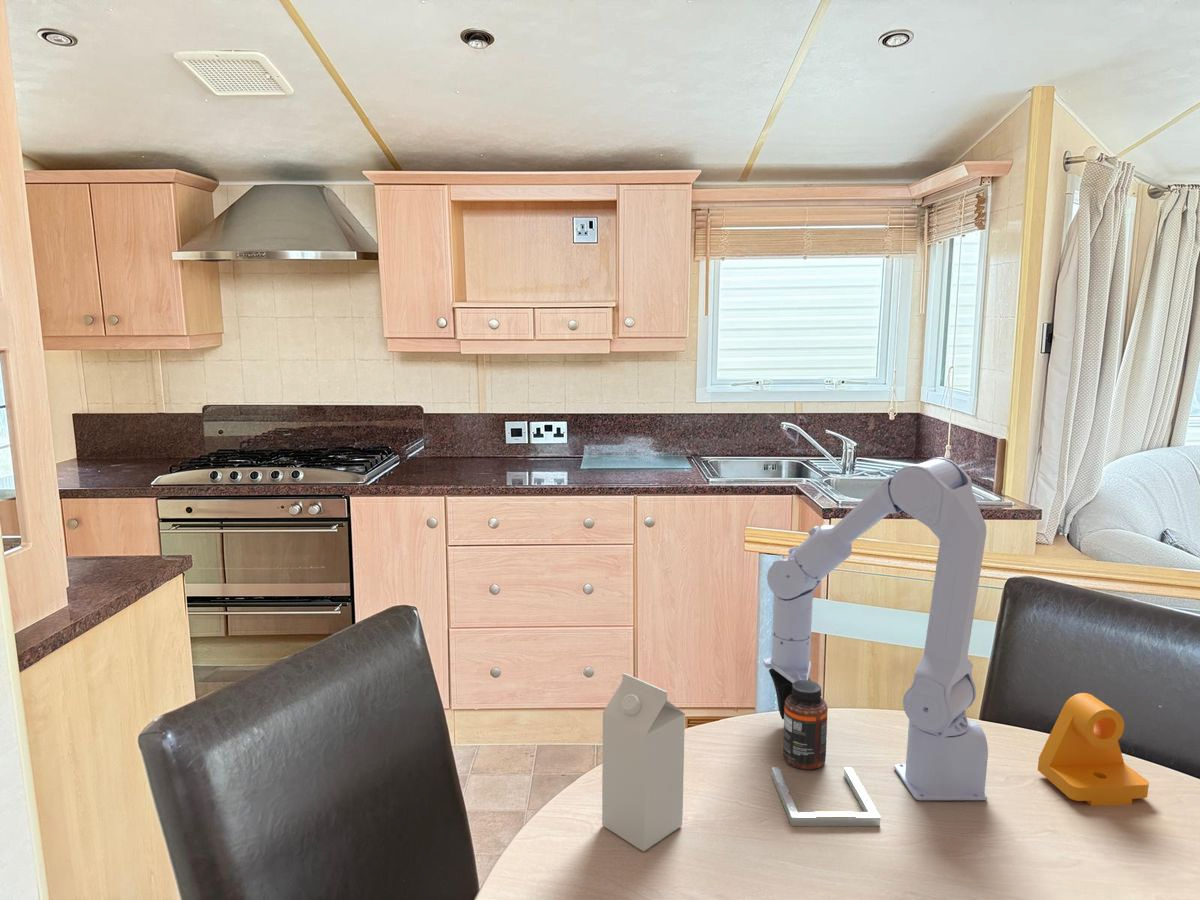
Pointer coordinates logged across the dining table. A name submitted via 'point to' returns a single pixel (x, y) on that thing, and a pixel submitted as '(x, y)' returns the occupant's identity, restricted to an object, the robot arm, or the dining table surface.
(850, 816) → the frame
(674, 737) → the milk carton
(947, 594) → the robot arm
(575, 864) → the dining table surface
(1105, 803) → the bracket
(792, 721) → the supplement bottle
